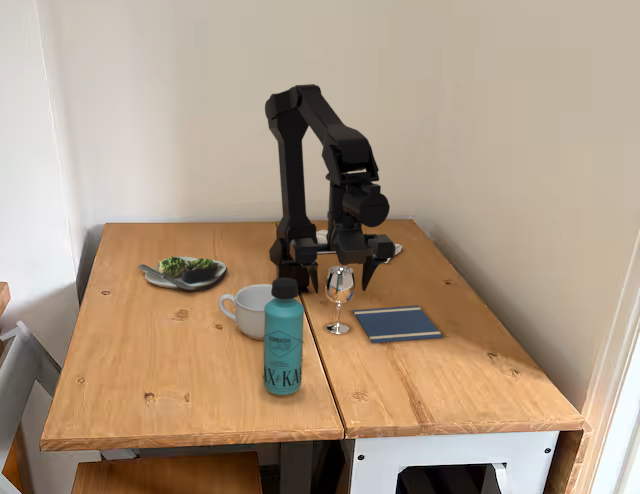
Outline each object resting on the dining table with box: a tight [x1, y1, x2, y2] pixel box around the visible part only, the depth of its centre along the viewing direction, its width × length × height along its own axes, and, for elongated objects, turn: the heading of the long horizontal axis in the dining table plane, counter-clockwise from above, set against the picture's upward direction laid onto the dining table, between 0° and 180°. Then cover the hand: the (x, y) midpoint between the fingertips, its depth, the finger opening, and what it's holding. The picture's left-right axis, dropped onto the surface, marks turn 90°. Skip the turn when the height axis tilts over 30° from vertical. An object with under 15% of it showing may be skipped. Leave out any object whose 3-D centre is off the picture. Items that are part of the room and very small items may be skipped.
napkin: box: [352, 305, 444, 344], centre depth 141 cm, size 14×14×1 cm
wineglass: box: [324, 265, 356, 335], centre depth 136 cm, size 6×6×12 cm
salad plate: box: [137, 255, 228, 293], centre depth 159 cm, size 19×18×5 cm
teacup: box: [217, 283, 275, 341], centre depth 136 cm, size 14×11×8 cm
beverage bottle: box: [262, 278, 305, 396], centre depth 113 cm, size 6×7×20 cm
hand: (339, 291), depth 135 cm, fingers open, 9 cm apart
